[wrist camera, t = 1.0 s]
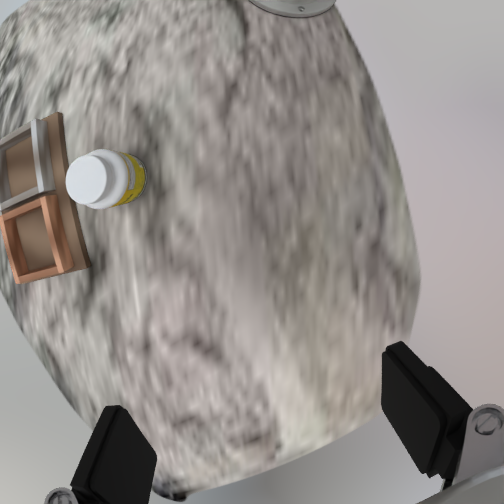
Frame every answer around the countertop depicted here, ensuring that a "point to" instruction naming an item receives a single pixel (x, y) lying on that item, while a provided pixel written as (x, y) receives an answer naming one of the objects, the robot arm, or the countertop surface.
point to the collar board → (39, 203)
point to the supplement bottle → (105, 179)
